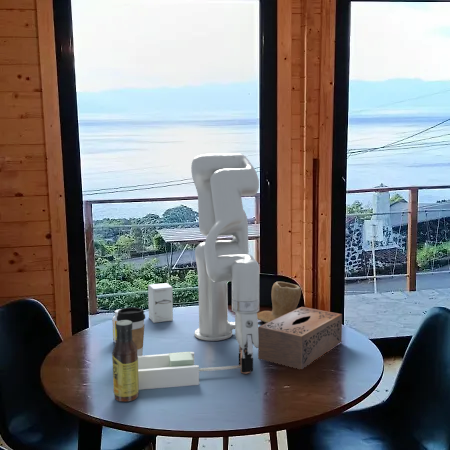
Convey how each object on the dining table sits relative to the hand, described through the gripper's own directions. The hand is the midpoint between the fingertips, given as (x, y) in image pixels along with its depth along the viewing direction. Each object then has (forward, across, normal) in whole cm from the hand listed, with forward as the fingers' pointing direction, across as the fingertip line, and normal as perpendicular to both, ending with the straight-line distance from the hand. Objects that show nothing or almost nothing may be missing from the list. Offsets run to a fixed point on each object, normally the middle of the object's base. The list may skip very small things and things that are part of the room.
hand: (245, 368), depth 159 cm
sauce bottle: (+1, -10, +33) cm, 34 cm away
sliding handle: (+1, 0, +10) cm, 10 cm away
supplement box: (+1, +54, +20) cm, 58 cm away
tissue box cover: (+2, +13, -20) cm, 24 cm away
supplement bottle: (+1, +33, +34) cm, 47 cm away
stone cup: (+1, +40, -21) cm, 45 cm away
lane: (+1, 0, +23) cm, 23 cm away
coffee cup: (+1, +17, +31) cm, 35 cm away
